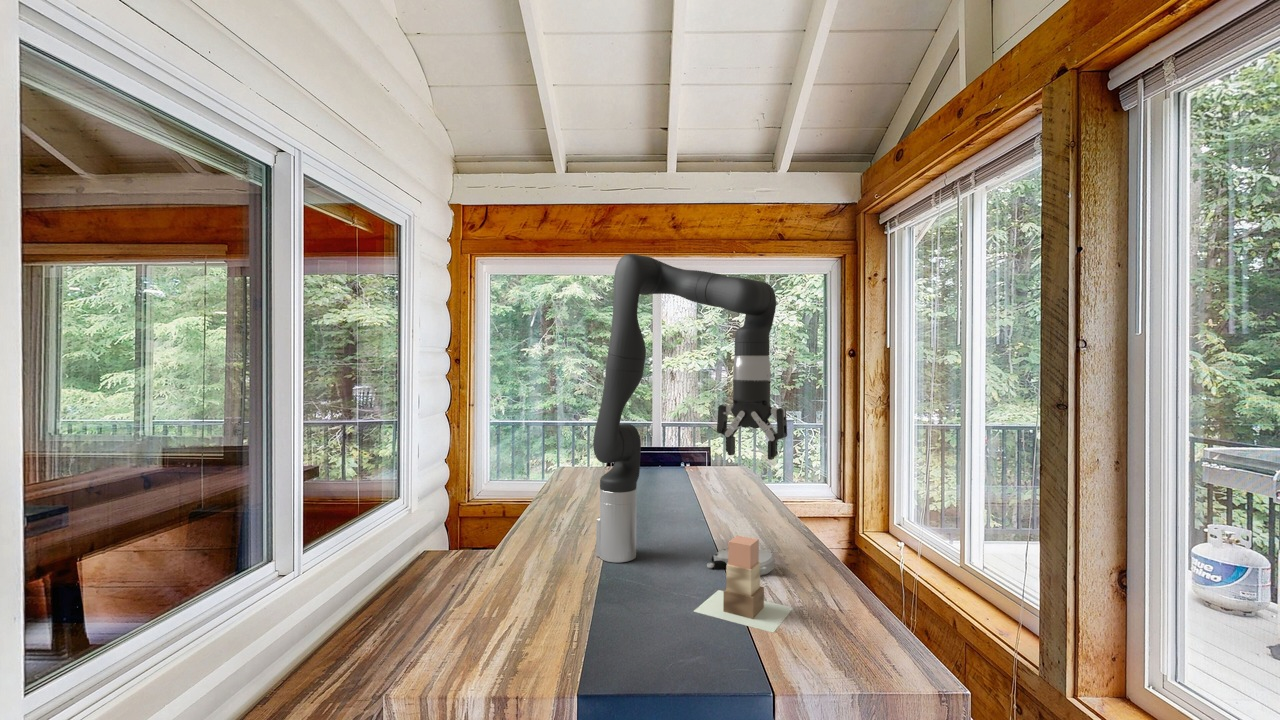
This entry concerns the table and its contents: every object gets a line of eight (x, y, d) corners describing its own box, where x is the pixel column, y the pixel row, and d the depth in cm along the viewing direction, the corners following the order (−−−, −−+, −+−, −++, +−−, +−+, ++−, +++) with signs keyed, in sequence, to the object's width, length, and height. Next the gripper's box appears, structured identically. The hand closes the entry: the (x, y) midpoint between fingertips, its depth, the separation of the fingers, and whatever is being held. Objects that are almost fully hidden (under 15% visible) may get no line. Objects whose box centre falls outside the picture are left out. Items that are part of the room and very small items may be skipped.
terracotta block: (728, 564, 112) (728, 541, 112) (737, 557, 116) (737, 535, 116) (750, 569, 110) (750, 545, 110) (758, 562, 114) (758, 539, 114)
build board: (693, 617, 112) (693, 611, 112) (718, 595, 122) (718, 589, 122) (773, 639, 104) (773, 632, 104) (793, 613, 114) (793, 607, 114)
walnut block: (723, 611, 112) (723, 591, 112) (735, 600, 117) (735, 580, 117) (752, 619, 109) (753, 598, 109) (763, 607, 114) (763, 587, 114)
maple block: (726, 590, 112) (726, 565, 112) (736, 582, 116) (736, 557, 116) (750, 596, 109) (751, 570, 109) (759, 587, 114) (760, 562, 114)
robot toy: (704, 579, 134) (769, 585, 128) (703, 559, 134) (768, 564, 128) (719, 561, 145) (780, 566, 139) (718, 543, 145) (778, 547, 139)
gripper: (712, 377, 119) (711, 456, 119) (779, 379, 111) (779, 463, 111) (726, 376, 125) (726, 451, 125) (791, 378, 118) (790, 457, 118)
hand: (751, 456), depth 118 cm, fingers open, 8 cm apart
